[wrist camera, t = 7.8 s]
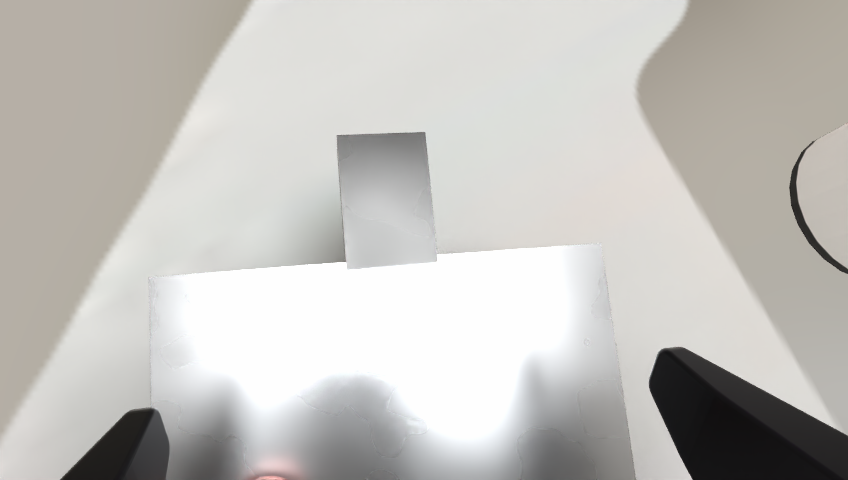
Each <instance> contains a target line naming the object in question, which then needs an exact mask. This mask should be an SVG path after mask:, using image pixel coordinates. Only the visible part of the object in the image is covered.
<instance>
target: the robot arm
mask: <svg viewBox="0 0 848 480" xmlns="http://www.w3.org/2000/svg"><path fill="white" fill-rule="evenodd" d="M649 388H650V392H651V394H652V396H653V399H654V401H655V403H656V405H657V407H658V409H659V412H660V414H661V416H662V418H663V420H664V422H665V425H666V427H667V429H668V431H669V433H670V435H671V438H672V440H673V442H674V444H675V446H676V448H677V450H678V453H679V455H680V457H681V459H682V461H683V463H684V465H685V467H686V468H687V470H688V472H689V474H690V476H691V477H692V479H693V480H848V436H847V435H846V434H844V433H842V432H840V431H838V430H836V429H834V428H833V427H831V426H829V425H827V424H825V423H823V422H821V421H819V420H818V419H816V418H814V417H812V416H810V415H808V414H806V413H805V412H803V411H801V410H799V409H797V408H795V407H793V406H792V405H790V404H788V403H786V402H784V401H782V400H780V399H779V398H777V397H775V396H773V395H771V394H769V393H767V392H765V391H764V390H762V389H760V388H758V387H756V386H754V385H752V384H751V383H749V382H747V381H745V380H743V379H741V378H739V377H738V376H736V375H734V374H732V373H730V372H728V371H726V370H725V369H723V368H721V367H719V366H717V365H715V364H713V363H711V362H710V361H708V360H706V359H704V358H702V357H700V356H698V355H697V354H695V353H693V352H691V351H689V350H687V349H685V348H683V347H673V348H664V349H661V350H660V351H659V352H658V354H657V357H656V360H655V363H654V366H653V369H652V372H651V375H650V378H649ZM169 455H170V444H169V439H168V436H167V433H166V430H165V427H164V424H163V420H162V417H161V414H160V412H159V410H158V409H157V408H154V407H151V408H142V409H133V410H130V411H129V412H127V413H126V414H125V415H124V416H123V417H122V418H121V419H120V420H119V421H118V422H117V423H116V424H115V425H114V426H113V427H112V428H111V429H110V430H109V431H108V432H107V433H106V434H105V435H104V436H103V437H102V438H101V439H100V440H99V441H98V442H97V443H96V444H95V445H94V446H93V447H92V448H91V449H90V450H89V451H88V452H87V453H86V454H85V455H84V456H83V457H82V458H81V459H80V460H79V461H78V462H77V463H76V464H75V465H74V466H73V467H72V468H71V469H70V470H69V471H68V472H67V473H66V474H65V475H64V476H63V477H62V478H61V479H60V480H166V476H167V469H168V462H169Z"/></svg>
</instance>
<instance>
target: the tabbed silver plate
mask: <svg viewBox="0 0 848 480" xmlns="http://www.w3.org/2000/svg"><path fill="white" fill-rule="evenodd" d="M337 155H338V169H339V183H340V196H341V210H342V224H343V237H344V251H345V262H342V263H329V264H315V265H302V266H289V267H276V268H263V269H249V270H236V271H223V272H210V273H197V274H183V275H170V276H157V277H149V308H150V368H151V407H154V408H157V409H158V410H159V412H160V414H161V417H162V420H163V424H164V427H165V430H166V433H167V436H168V439H169V444H170V455H169V462H168V469H167V476H166V480H636V477H635V471H634V464H633V457H632V450H631V443H630V437H629V430H628V423H627V416H626V409H625V403H624V396H623V389H622V382H621V376H620V369H619V362H618V355H617V348H616V342H615V335H614V328H613V321H612V314H611V308H610V301H609V294H608V287H607V281H606V274H605V267H604V260H603V253H602V247H601V243H593V244H579V245H566V246H553V247H540V248H527V249H513V250H500V251H487V252H474V253H461V254H447V255H437V246H436V236H435V226H434V216H433V206H432V196H431V186H430V176H429V166H428V156H427V146H426V136H425V132H417V133H388V134H359V135H337Z"/></svg>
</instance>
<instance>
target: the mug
mask: <svg viewBox="0 0 848 480" xmlns="http://www.w3.org/2000/svg"><path fill="white" fill-rule="evenodd" d="M789 188H790V197H791V206H792V209H793V212H794V215H795V218H796V220H797V223H798V225H799V227H800V229H801V230H802V232H803V234H804V235H805V237H806V239H807V240H808V242H809V244H811V246H812V247H813V248H814V249H815V250H816V251H817V252H818V253H819V254H820V255H821V256H822V257H823V258H824V259H825V260H826V261H827V262H829V263H830V264H832V265H833V266H835V267H836V268H837V269H839V270H840V271H842V272H845V273H847V274H848V123H846V124H844V125H842V126H841V127H839V128H837V129H835V130H833V131H832V132H829V133H828V134H826V135H824V136H822V137H820V138H818V139H817V140H815V141H813V142H812V143H811V144H810V145H809V146H808V147H807V148H805V149H804V150H803V152H801V154H800V156H799V158H798V160H797V162H796V164H795V166H794V168H793V170H792V174H791V181H790V187H789Z"/></svg>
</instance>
